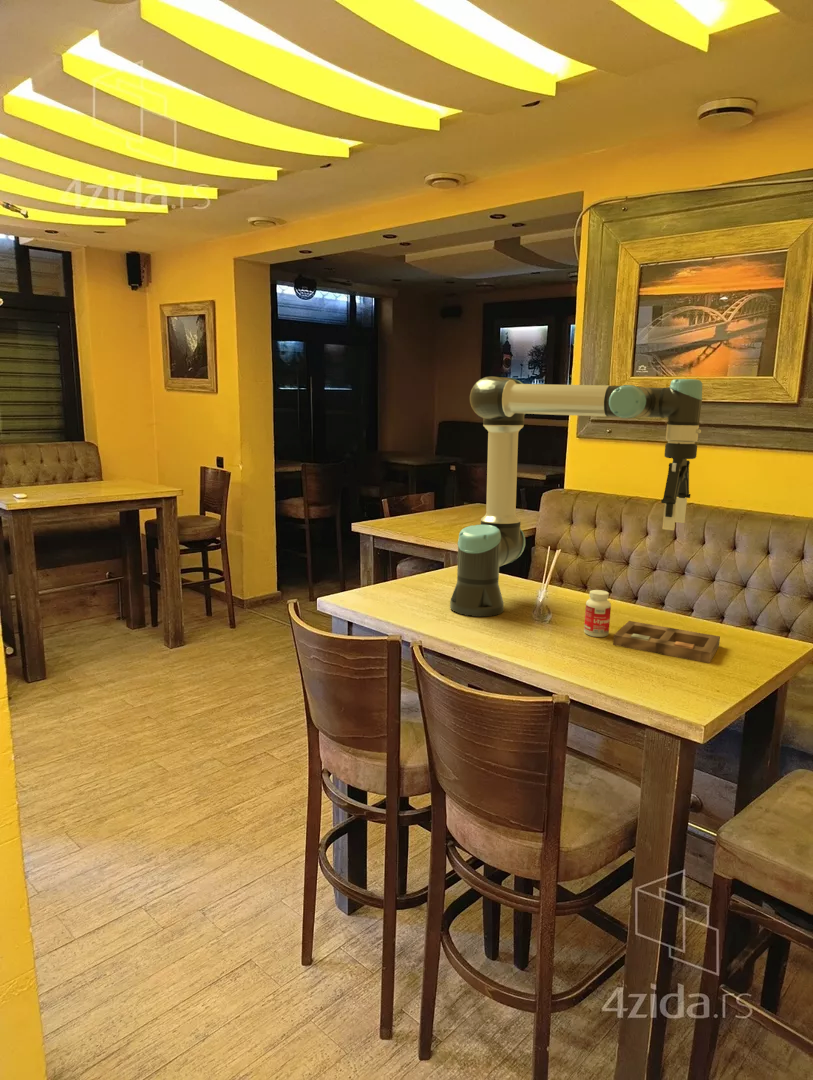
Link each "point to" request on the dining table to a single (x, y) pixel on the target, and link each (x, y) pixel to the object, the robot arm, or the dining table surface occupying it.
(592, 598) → the pill bottle
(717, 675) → the dining table surface
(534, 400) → the robot arm
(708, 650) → the socket board
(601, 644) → the dining table surface
